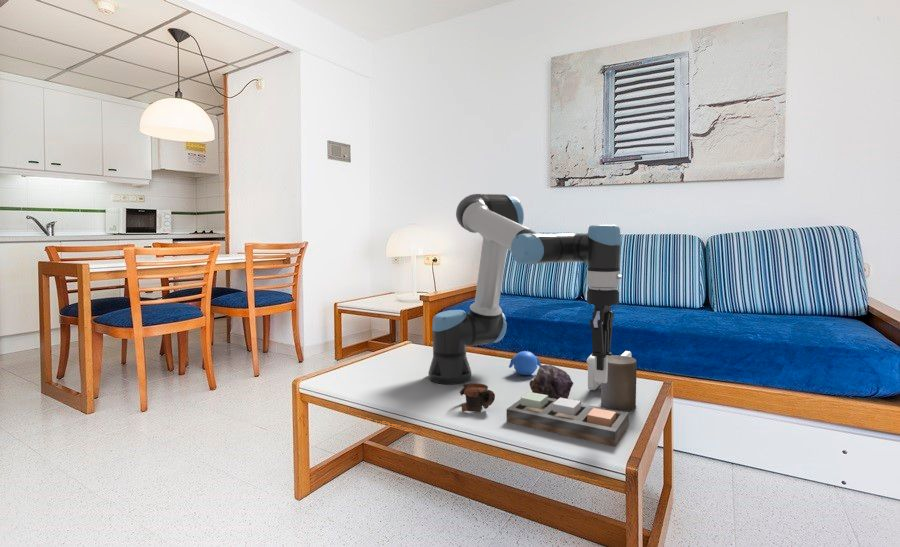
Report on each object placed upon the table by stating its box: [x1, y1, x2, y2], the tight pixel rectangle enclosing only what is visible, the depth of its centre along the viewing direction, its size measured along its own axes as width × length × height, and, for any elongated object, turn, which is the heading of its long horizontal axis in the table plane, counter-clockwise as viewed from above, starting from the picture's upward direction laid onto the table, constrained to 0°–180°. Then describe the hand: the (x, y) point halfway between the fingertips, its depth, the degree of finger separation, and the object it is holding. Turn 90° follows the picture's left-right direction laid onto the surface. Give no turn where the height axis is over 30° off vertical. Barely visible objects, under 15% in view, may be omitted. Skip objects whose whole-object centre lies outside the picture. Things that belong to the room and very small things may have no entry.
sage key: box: [520, 391, 548, 409], centre depth 126 cm, size 6×6×2 cm
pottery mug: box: [459, 382, 496, 413], centre depth 134 cm, size 12×10×8 cm
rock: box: [529, 364, 574, 399], centre depth 142 cm, size 12×9×10 cm
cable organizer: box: [586, 350, 632, 391], centre depth 149 cm, size 15×11×12 cm
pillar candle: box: [600, 354, 637, 412], centre depth 133 cm, size 10×10×15 cm
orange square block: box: [587, 408, 616, 427], centre depth 116 cm, size 6×6×2 cm
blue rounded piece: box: [508, 350, 542, 376], centre depth 167 cm, size 12×12×8 cm
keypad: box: [506, 398, 630, 447], centre depth 121 cm, size 28×14×4 cm, turn 57°
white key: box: [553, 398, 582, 416], centre depth 121 cm, size 6×6×2 cm
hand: (601, 381), depth 116 cm, fingers closed
